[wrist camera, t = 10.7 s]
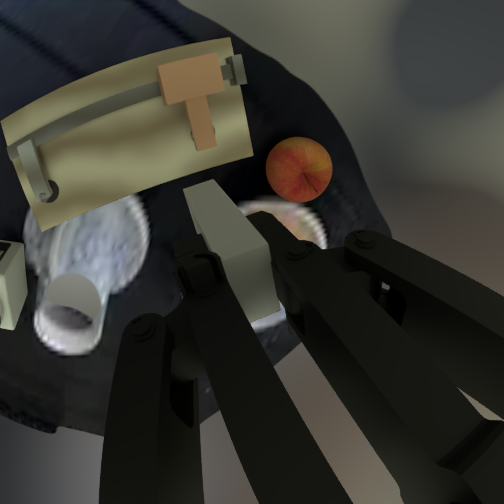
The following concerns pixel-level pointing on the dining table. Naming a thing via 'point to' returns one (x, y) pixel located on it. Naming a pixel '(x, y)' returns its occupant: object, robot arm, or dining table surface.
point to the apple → (298, 169)
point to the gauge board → (120, 134)
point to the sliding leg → (193, 92)
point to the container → (12, 283)
